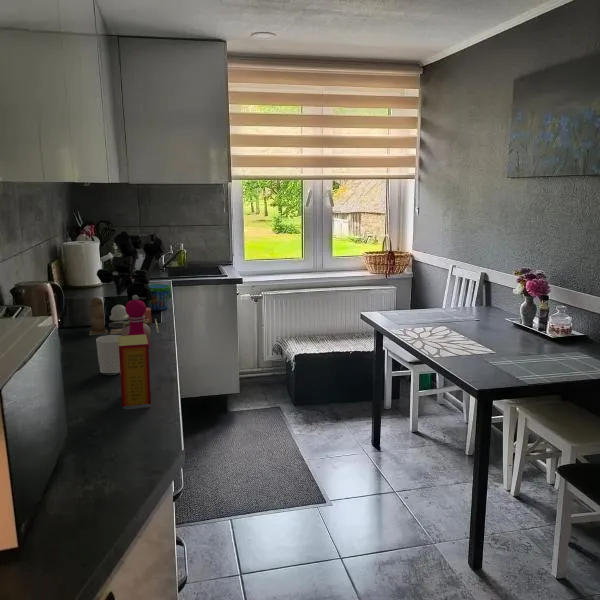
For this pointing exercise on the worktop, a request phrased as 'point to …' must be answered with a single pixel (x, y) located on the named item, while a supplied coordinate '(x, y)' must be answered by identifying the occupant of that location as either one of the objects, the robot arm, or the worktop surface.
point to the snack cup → (159, 296)
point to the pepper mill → (136, 316)
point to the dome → (118, 313)
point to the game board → (118, 325)
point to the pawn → (97, 316)
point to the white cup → (108, 353)
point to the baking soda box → (134, 370)
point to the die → (148, 315)
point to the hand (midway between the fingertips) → (118, 294)
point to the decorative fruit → (127, 328)
